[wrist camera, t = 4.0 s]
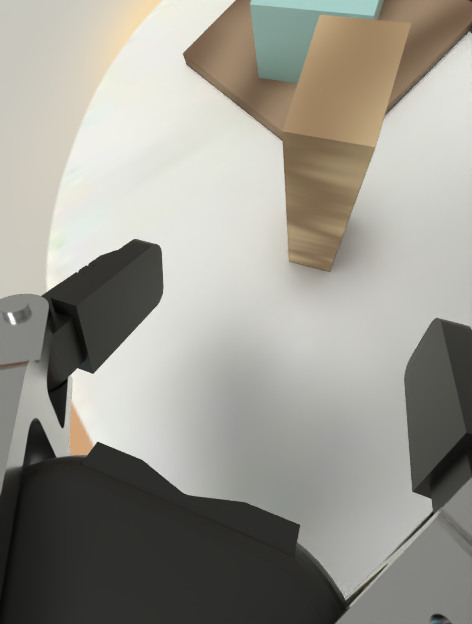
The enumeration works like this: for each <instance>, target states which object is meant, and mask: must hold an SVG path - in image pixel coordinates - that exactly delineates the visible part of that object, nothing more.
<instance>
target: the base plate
mask: <svg viewBox="0 0 472 624" xmlns="http://www.w3.org/2000/svg"><path fill="white" fill-rule="evenodd" d="M250 3H251V0H236V1H235V2H234V3H233V4H232V5H231V6H230V7H229V8H228V9H227V10H226V11H225V12H224V13H223V14H222V15H221V16H220V17H219V18H218V19H217V20H216V21H215V22H214V23H213V24H212V25H211V26H210V27H209V28H208V29H207V30H206V31H205V32H204V33H203V34H202V35H201V36H200V37H199V38H198V39H197V40H196V41H195V42H194V43H193V44H192V45H191V46H190V47H189V48H188V49H187V50H186V51H185V52H184V53H183V55H184V58H185V61H186V64H187V65H188V66H190V67H191V68H192V69H193V70H195V71H196V72H197V73H198V74H200V75H201V76H202V77H203V78H205V79H206V80H207V81H209V82H210V83H211V84H212V85H214V86H215V87H216V88H217V89H219V90H220V91H221V92H222V93H224V94H225V95H226V96H227V97H229V98H230V99H231V100H232V101H234V102H235V103H236V104H237V105H239V106H240V107H241V108H243V109H244V110H245V111H246V112H248V113H249V114H250V115H251V116H253V117H254V118H255V119H256V120H258V121H259V122H260V123H261V124H263V125H264V126H265V127H266V128H268V129H269V130H270V131H271V132H273V133H274V134H275V135H277V136H278V137H279V138H280V139H282V140H283V134H282V131H283V128H284V125H285V122H286V119H287V115H288V112H289V109H290V106H291V103H292V100H293V97H294V94H295V91H296V88H297V84H298V83H293V82H285V81H278V80H271V79H264V78H259V76H258V67H257V59H256V51H255V42H254V34H253V26H252V18H251V9H250ZM378 20H383V21H394V22H404V23H411V26H410V29H409V33H408V36H407V40H406V43H405V47H404V50H403V53H402V57H401V60H400V64H399V67H398V71H397V74H396V78H395V81H394V85H393V88H392V92H391V95H390V99H389V102H388V106H387V109H386V112H385V114H386V113H387V112H388V111H389V110H390V109H391V108H392V107H393V106H394V105H395V104H396V103H397V102H398V101H399V100H400V99H401V98H402V97H403V96H404V95H405V94H406V93H407V92H408V91H409V90H410V89H411V88H412V87H413V86H414V85H415V84H416V83H417V82H418V81H419V80H420V79H421V78H422V77H423V76H424V75H425V74H426V73H427V72H428V71H429V70H430V69H431V68H432V67H433V66H434V65H435V64H436V63H437V62H438V61H439V60H440V59H441V58H442V57H443V56H444V55H445V54H446V53H447V52H448V51H449V50H450V49H451V48H452V47H453V46H454V45H455V44H456V43H457V42H458V41H459V40H460V39H461V38H462V37H463V36H464V35H465V34H466V33H467V32H468V31H469V30H470V29H471V27H472V2H471V1H469V0H384V2H383V6H382V9H381V12H380V16H379V19H378Z"/></svg>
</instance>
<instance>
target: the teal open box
mask: <svg viewBox="0 0 472 624" xmlns="http://www.w3.org/2000/svg"><path fill="white" fill-rule="evenodd" d="M383 2H384V0H251V3H250V9H251V18H252V26H253V34H254V42H255V51H256V59H257V67H258V76H259V78H264V79H271V80H278V81H285V82H293V83H298V81H299V78H300V75H301V72H302V69H303V66H304V63H305V60H306V56H307V53H308V50H309V47H310V44H311V41H312V38H313V35H314V32H315V28H316V25H317V22H318V19H319V16H320V15H329V16H340V17H351V18H361V19H372V20H378V19H379V16H380V12H381V9H382V6H383Z"/></svg>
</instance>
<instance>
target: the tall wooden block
mask: <svg viewBox="0 0 472 624" xmlns="http://www.w3.org/2000/svg"><path fill="white" fill-rule="evenodd" d="M410 26H411V23H404V22H394V21H383V20H372V19H361V18H351V17H340V16H329V15H320V16H319V19H318V22H317V25H316V28H315V32H314V35H313V38H312V41H311V44H310V47H309V50H308V53H307V56H306V60H305V63H304V66H303V69H302V72H301V75H300V78H299V81H298V84H297V88H296V91H295V94H294V97H293V100H292V103H291V106H290V109H289V112H288V115H287V119H286V122H285V125H284V128H283V131H282V134H283V154H284V173H285V193H286V213H287V233H288V253H289V261H290V262H294V263H298V264H302V265H306V266H310V267H314V268H318V269H321V270H325V271H329V272H330V269H331V266H332V264H333V261H334V258H335V256H336V253H337V250H338V247H339V245H340V242H341V239H342V237H343V234H344V231H345V228H346V226H347V223H348V220H349V218H350V215H351V212H352V209H353V207H354V204H355V201H356V199H357V196H358V193H359V190H360V188H361V185H362V182H363V180H364V177H365V174H366V172H367V169H368V166H369V163H370V161H371V158H372V155H373V153H374V150H375V147H376V144H377V140H378V137H379V133H380V130H381V126H382V123H383V119H384V116H385V112H386V109H387V106H388V102H389V99H390V95H391V92H392V88H393V85H394V81H395V78H396V74H397V71H398V67H399V64H400V60H401V57H402V53H403V50H404V47H405V43H406V40H407V36H408V33H409V29H410Z"/></svg>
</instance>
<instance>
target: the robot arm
mask: <svg viewBox="0 0 472 624" xmlns="http://www.w3.org/2000/svg"><path fill="white" fill-rule="evenodd" d="M162 294H163V269H162V251H161V248H160V246H159V245H157V244H153V243H150V242H146V241H142V240H138V239H134V240H132V241H130V242H129V243H128V244H126V245H125V246H123V247H122V248H120V249H119V250H116V251H113V252H110V253H107V254H104V255H101V256H99V257H98V258H96V259H95V260H94V261H92V262H91V263H89V265H88V266H85V267H83V268H82V269H80V270H79V272H78V273H77V272H76V273H74V274H73V275H71V276H70V277H68V278H67V279H66V280H64V281H63V282H61V283H60V284H58V285H57V286H55V287H54V288H52V289H51V290H49V291H48V292H46V293H45V294H44V295H42V296H38V295H34V294H19V295H13V296H8V297H5V298H3V299H0V624H472V330H471V328H470V327H469V326H466V325H463V324H459V323H455V322H451V321H447V320H443V319H439V318H436V319H434V320H433V321H432V322H431V324H430V325H429V327H428V329H427V331H426V332H425V334H424V336H423V337H422V339H421V341H420V342H419V344H418V346H417V348H416V349H415V351H414V353H413V354H412V356H411V358H410V360H409V362H408V364H407V367H406V371H405V377H404V383H405V397H406V410H407V424H408V438H409V452H410V465H411V479H412V492H415V493H417V494H420V495H423V496H426V497H428V498H431V499H432V507H433V511H432V512H431V513H430V514H429V515H428V516H427V517H426V518H425V519H424V520H423V521H422V522H421V523H420V524H419V525H418V526H417V527H416V528H415V529H414V530H413V531H412V532H411V533H410V534H409V535H408V536H407V537H406V538H405V539H404V540H403V541H402V542H401V543H400V544H399V545H398V546H397V547H396V548H395V549H394V550H393V552H392V553H391V554H390V555H389V556H388V557H387V558H386V559H385V560H384V561H383V562H382V563H381V564H380V565H379V566H378V567H377V568H376V569H375V570H374V571H373V572H372V573H371V574H370V575H369V576H368V577H367V578H366V579H365V580H364V581H363V582H362V583H360V584H359V585H358V586H357V587H356V588H355V589H354V590H353V591H352V592H351V593H350V594H349V595H348V596H347V598H346V599H345V598H344V597H343V595H342V593H341V591H340V590H339V588H338V587H337V585H336V584H335V582H334V581H333V579H332V578H331V576H330V575H329V574H328V573H327V571H326V570H325V569H324V568H323V566H322V565H321V564H320V563H319V562H318V561H317V560H316V559H315V558H314V557H313V556H312V555H311V554H310V553H309V552H308V551H307V550H306V549H305V548H304V547H302V546H301V545H300V544H299V543H297V539H298V533H299V527H300V525H299V524H296V523H294V522H291V521H289V520H286V519H284V518H282V517H279V516H277V515H274V514H272V513H269V512H267V511H265V510H262V509H260V508H257V507H255V506H252V505H250V504H248V503H245V502H237V501H229V500H221V499H213V498H204V497H196V496H189V495H186V494H184V493H182V492H181V491H180V490H178V489H177V488H176V487H175V486H173V485H172V484H171V483H170V482H169V481H167V480H166V479H165V478H164V477H162V476H161V475H160V474H159V473H158V472H156V471H155V470H154V469H153V468H151V467H150V466H149V465H148V464H147V463H145V462H144V461H143V460H141V459H138V458H136V457H134V456H131V455H129V454H126V453H124V452H121V451H119V450H117V449H114V448H112V447H109V446H107V445H104V444H102V443H100V442H97V443H96V445H95V446H94V447H93V449H92V450H91V451H90V453H89V454H88V455H87V456H85V455H80V456H71V451H70V444H69V430H70V414H71V399H72V383H73V381H72V377H71V374H72V373H73V372H74V371H75V370H76V369H77V368H79V369H82V370H84V371H87V372H90V373H92V374H94V372H95V371H96V370H97V369H98V368H99V367H100V366H101V365H102V364H103V363H104V362H105V361H106V360H107V359H108V357H109V356H110V355H111V354H112V353H113V352H114V351H115V350H116V349H117V348H118V347H119V346H120V345H121V344H122V342H123V341H124V340H125V339H126V338H127V337H128V336H129V335H130V334H131V333H132V332H133V331H134V330H135V329H136V327H137V326H138V325H139V324H140V323H141V322H142V321H143V320H144V319H145V318H146V317H147V316H148V315H149V314H150V312H151V311H152V310H153V309H154V308H155V307H156V306H157V305H158V303H159V302H160V300H161V297H162Z"/></svg>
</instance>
